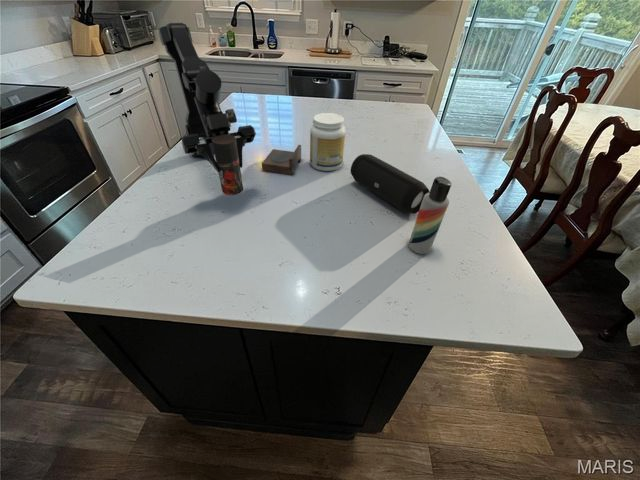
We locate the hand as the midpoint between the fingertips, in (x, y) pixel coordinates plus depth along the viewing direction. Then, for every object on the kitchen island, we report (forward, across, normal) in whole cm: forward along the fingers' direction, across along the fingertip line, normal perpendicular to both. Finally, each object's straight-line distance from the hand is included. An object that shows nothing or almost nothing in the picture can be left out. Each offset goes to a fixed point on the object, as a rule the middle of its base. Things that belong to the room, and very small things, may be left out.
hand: (230, 169), depth 79 cm
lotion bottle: (+36, +36, -19) cm, 55 cm away
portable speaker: (+20, +44, -2) cm, 48 cm away
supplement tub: (+1, +38, +17) cm, 41 cm away
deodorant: (+4, 0, +6) cm, 7 cm away
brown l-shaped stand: (-4, +23, +21) cm, 31 cm away
